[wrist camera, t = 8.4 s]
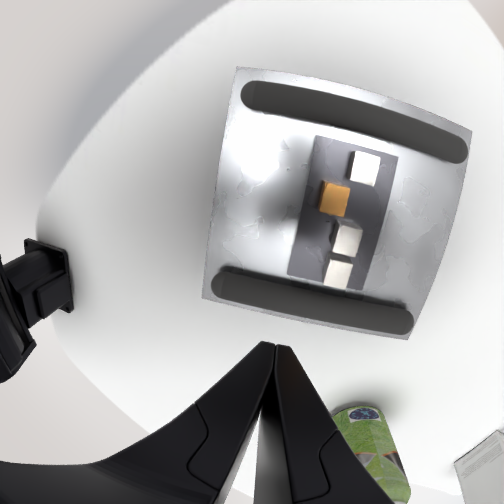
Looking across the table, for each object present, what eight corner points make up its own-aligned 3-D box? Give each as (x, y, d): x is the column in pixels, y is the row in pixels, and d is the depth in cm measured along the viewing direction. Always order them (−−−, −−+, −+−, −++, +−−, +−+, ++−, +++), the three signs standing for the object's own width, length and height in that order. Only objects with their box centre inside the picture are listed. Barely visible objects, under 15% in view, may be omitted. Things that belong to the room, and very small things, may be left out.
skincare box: (467, 467, 25) (485, 541, 11) (451, 462, 25) (469, 547, 10) (509, 435, 22) (537, 509, 8) (498, 427, 22) (529, 512, 7)
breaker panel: (212, 281, 21) (191, 313, 17) (245, 77, 16) (227, 55, 12) (398, 321, 19) (415, 358, 15) (453, 132, 14) (490, 130, 10)
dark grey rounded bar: (241, 109, 14) (234, 105, 13) (246, 82, 14) (240, 75, 12) (456, 166, 13) (470, 169, 12) (461, 141, 13) (475, 140, 11)
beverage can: (313, 432, 25) (306, 537, 13) (344, 385, 22) (352, 512, 11) (367, 439, 24) (374, 536, 13) (404, 395, 22) (430, 506, 10)
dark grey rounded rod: (213, 288, 18) (205, 300, 17) (216, 264, 17) (208, 275, 16) (404, 327, 17) (410, 341, 15) (413, 307, 16) (421, 319, 15)
